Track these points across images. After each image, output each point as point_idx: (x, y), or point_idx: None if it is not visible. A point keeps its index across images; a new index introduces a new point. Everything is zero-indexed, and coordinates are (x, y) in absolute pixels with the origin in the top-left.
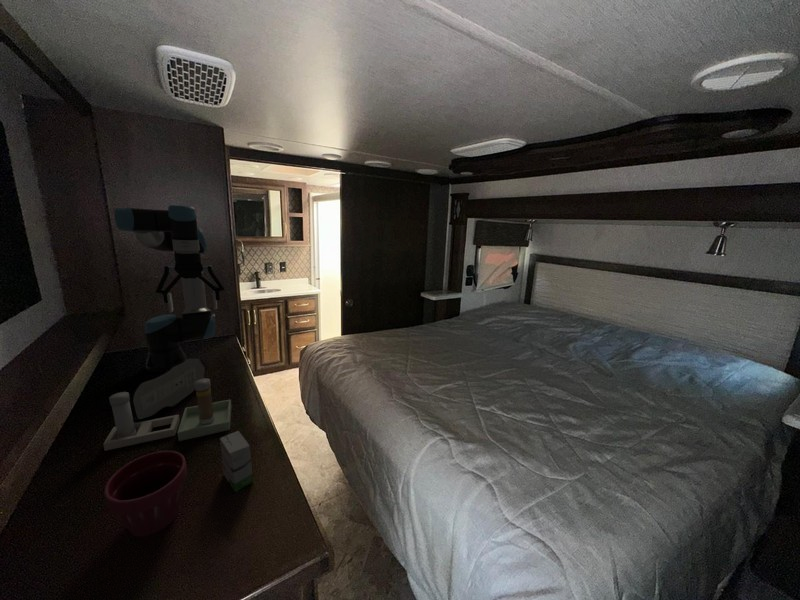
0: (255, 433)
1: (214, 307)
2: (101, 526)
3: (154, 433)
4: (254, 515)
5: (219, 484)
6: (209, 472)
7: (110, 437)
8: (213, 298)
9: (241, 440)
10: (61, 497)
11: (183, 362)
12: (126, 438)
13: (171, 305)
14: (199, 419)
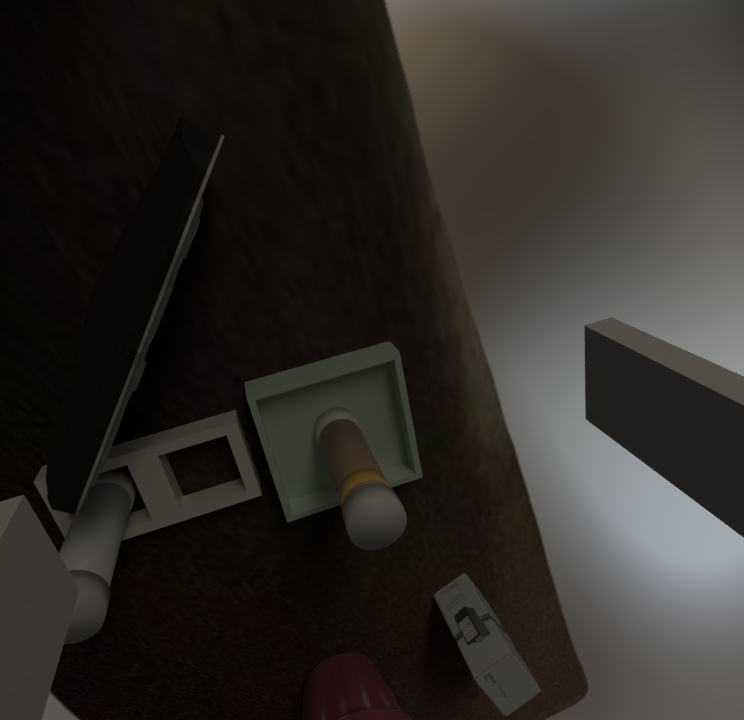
0: (483, 477)
1: (609, 436)
2: (253, 699)
3: (209, 511)
4: None
5: (430, 616)
6: (402, 592)
7: None
8: (729, 524)
9: (523, 680)
10: (109, 661)
11: (162, 275)
12: (133, 534)
13: (37, 668)
14: (322, 452)
